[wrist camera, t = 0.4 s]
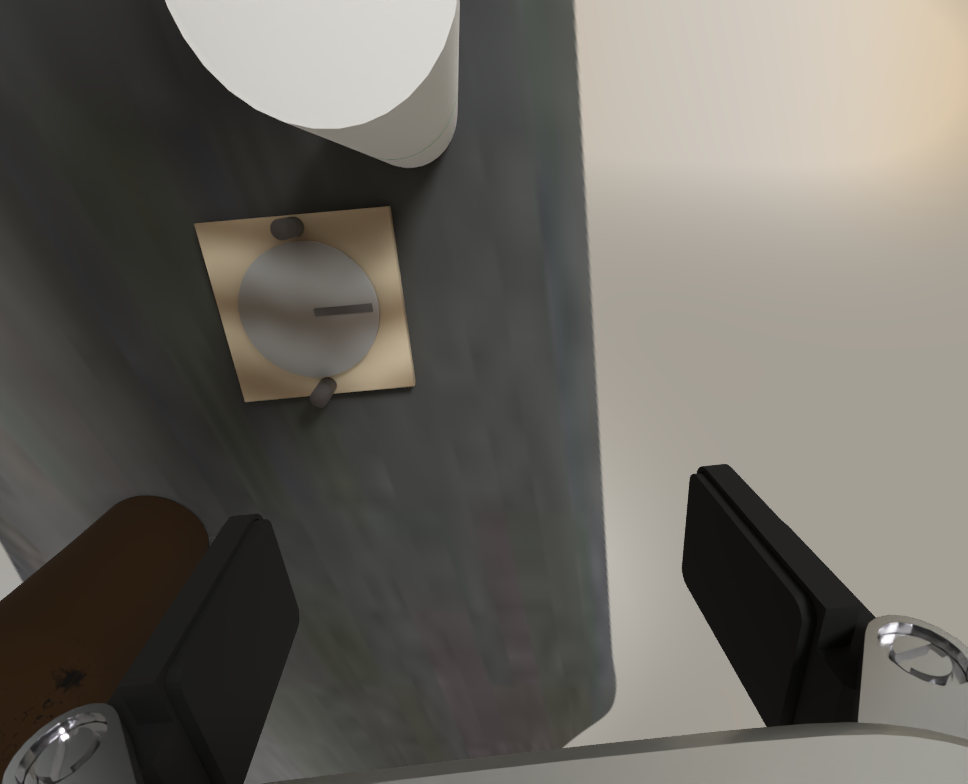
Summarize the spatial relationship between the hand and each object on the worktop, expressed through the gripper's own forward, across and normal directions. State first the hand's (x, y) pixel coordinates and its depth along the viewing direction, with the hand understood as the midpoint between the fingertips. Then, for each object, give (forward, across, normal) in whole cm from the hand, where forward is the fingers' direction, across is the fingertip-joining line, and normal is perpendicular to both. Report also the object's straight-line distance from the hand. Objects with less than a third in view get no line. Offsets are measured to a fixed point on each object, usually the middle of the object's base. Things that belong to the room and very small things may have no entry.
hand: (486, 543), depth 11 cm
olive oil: (+31, +31, +21) cm, 48 cm away
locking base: (+31, +12, +1) cm, 33 cm away
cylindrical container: (+31, +3, -12) cm, 34 cm away
